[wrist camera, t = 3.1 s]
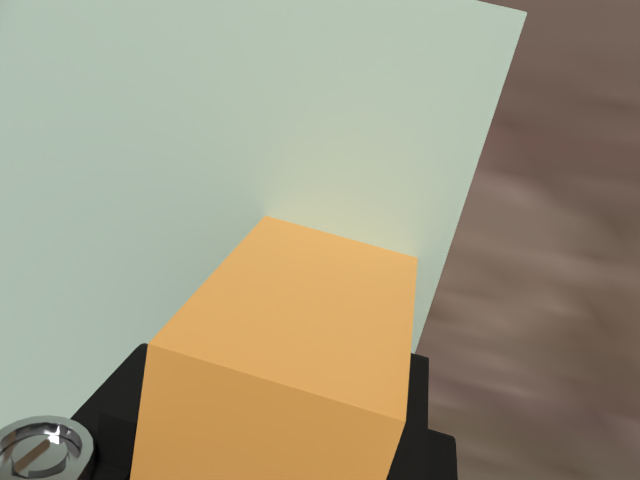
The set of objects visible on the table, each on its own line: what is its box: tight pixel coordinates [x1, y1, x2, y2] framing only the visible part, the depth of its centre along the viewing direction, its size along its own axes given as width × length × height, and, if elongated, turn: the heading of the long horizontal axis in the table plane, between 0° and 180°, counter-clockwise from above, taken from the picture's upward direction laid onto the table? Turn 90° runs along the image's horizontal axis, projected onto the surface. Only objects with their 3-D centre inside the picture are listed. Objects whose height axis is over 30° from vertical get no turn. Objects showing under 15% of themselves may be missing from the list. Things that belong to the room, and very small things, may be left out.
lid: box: [0, 0, 527, 480], centre depth 11 cm, size 13×15×7 cm
